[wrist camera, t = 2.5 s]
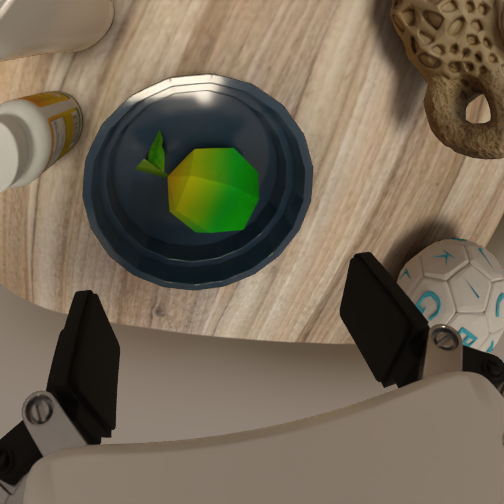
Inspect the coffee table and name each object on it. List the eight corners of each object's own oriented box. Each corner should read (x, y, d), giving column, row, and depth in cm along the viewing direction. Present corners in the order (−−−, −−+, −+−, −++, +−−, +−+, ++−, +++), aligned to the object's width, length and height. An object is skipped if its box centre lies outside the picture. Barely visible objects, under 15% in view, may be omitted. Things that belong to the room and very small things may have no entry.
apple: (276, 234, 19) (126, 190, 15) (233, 259, 24) (117, 229, 20) (282, 142, 21) (160, 96, 17) (243, 180, 26) (142, 148, 23)
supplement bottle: (96, 128, 19) (49, 165, 12) (48, 170, 20) (-8, 227, 12) (60, 75, 16) (-6, 84, 9) (13, 121, 17) (-58, 157, 9)
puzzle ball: (414, 316, 42) (467, 389, 30) (347, 304, 36) (408, 405, 24) (471, 235, 35) (542, 300, 23) (416, 196, 29) (518, 278, 17)
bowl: (121, 264, 26) (114, 301, 22) (87, 92, 18) (64, 98, 14) (285, 242, 29) (304, 274, 25) (290, 72, 20) (317, 73, 16)
